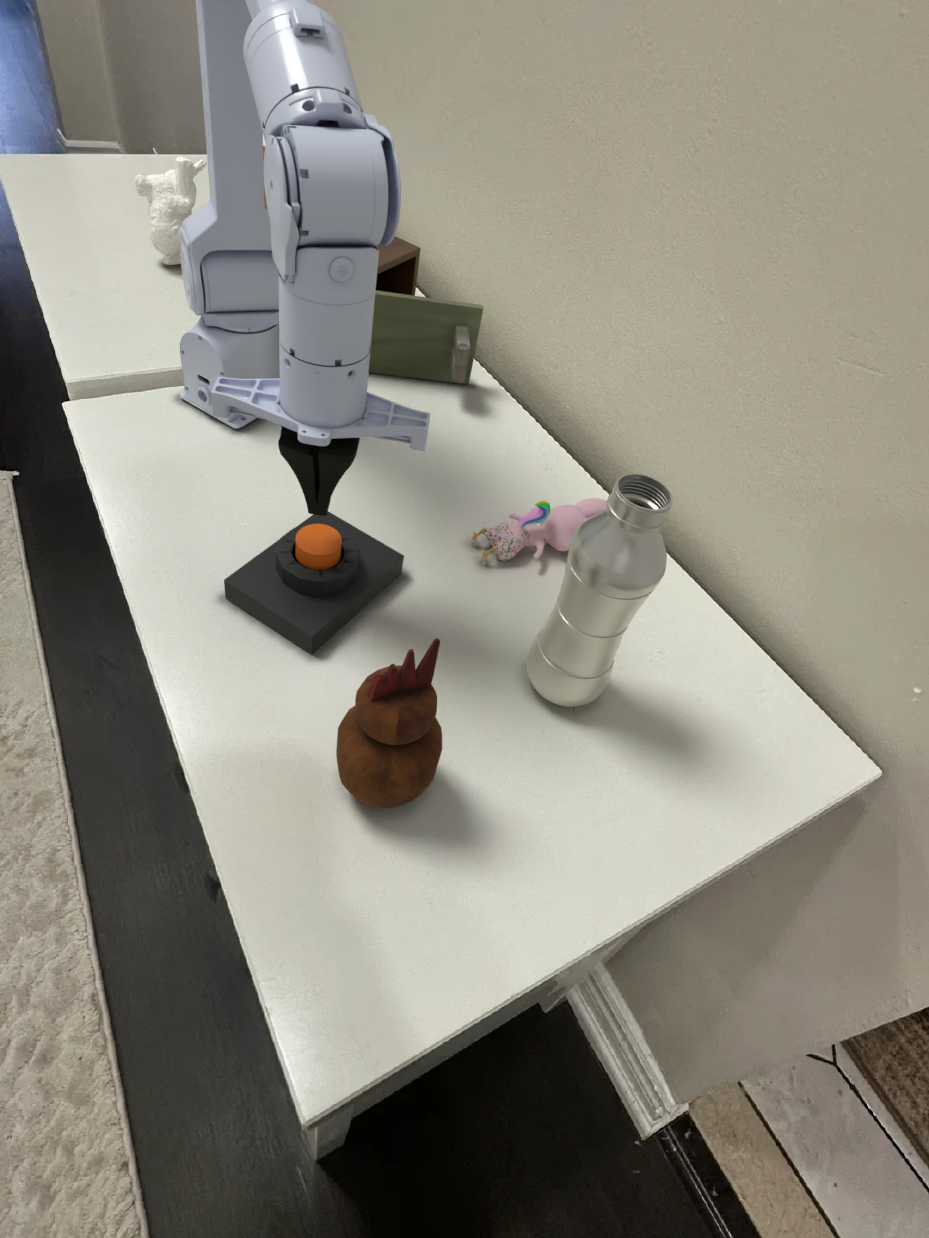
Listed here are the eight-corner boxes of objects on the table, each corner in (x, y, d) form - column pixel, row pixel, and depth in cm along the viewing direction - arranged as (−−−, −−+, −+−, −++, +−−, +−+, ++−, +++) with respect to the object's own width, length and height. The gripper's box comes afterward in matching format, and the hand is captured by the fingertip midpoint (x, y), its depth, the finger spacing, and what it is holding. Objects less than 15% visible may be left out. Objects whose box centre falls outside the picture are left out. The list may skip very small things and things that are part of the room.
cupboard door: (471, 410, 86) (486, 332, 79) (339, 394, 84) (344, 313, 77) (468, 381, 90) (483, 305, 83) (342, 365, 88) (347, 286, 81)
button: (321, 577, 60) (321, 561, 59) (285, 555, 61) (285, 539, 60) (349, 553, 63) (350, 537, 61) (315, 533, 64) (315, 517, 62)
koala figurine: (208, 248, 101) (200, 147, 93) (220, 272, 98) (213, 169, 89) (140, 249, 98) (125, 145, 89) (150, 274, 94) (136, 168, 86)
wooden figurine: (430, 749, 56) (465, 612, 45) (430, 822, 52) (468, 692, 41) (337, 743, 55) (348, 602, 44) (330, 817, 51) (341, 683, 40)
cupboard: (411, 324, 97) (421, 247, 90) (338, 366, 88) (342, 284, 81) (349, 294, 99) (353, 217, 92) (271, 331, 90) (269, 248, 83)
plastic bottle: (549, 639, 65) (624, 445, 50) (615, 686, 63) (714, 497, 48) (504, 681, 61) (571, 484, 47) (572, 733, 59) (665, 543, 44)
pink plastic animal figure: (488, 588, 70) (634, 547, 73) (491, 542, 65) (646, 501, 69) (464, 542, 73) (603, 504, 77) (465, 495, 69) (613, 458, 72)
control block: (311, 654, 60) (312, 621, 57) (225, 598, 62) (222, 563, 59) (401, 573, 67) (406, 540, 64) (321, 526, 70) (322, 491, 67)
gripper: (190, 354, 45) (208, 526, 55) (434, 397, 47) (408, 557, 57) (221, 299, 50) (233, 466, 60) (441, 339, 51) (417, 496, 61)
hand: (319, 506), depth 59 cm, fingers closed
